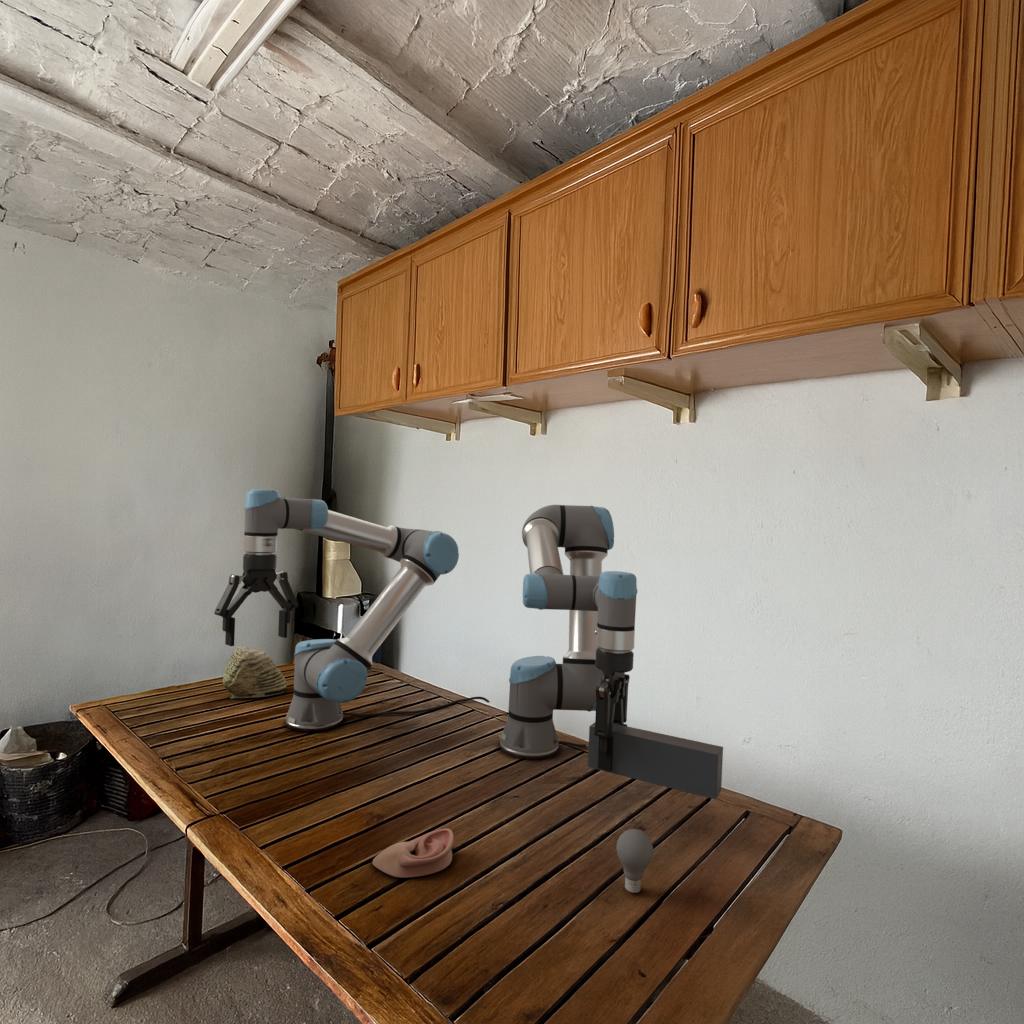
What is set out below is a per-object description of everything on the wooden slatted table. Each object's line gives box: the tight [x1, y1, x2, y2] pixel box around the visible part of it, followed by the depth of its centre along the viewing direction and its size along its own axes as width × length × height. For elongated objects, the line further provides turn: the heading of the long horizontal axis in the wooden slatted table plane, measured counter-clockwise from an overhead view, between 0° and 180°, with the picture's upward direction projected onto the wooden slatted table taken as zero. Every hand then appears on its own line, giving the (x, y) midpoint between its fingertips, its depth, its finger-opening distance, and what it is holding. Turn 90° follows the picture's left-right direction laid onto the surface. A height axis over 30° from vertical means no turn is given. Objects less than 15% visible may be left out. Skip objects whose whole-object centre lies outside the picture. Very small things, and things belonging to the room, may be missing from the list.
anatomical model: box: [372, 828, 455, 879], centre depth 112 cm, size 13×4×12 cm
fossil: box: [222, 646, 288, 699], centre depth 198 cm, size 9×18×15 cm, turn 132°
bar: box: [587, 722, 724, 801], centre depth 123 cm, size 25×5×8 cm, turn 61°
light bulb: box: [615, 828, 654, 894], centre depth 106 cm, size 6×6×10 cm
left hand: (257, 641), depth 153 cm, fingers open, 13 cm apart
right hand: (609, 764), depth 127 cm, fingers closed on bar, 5 cm apart
